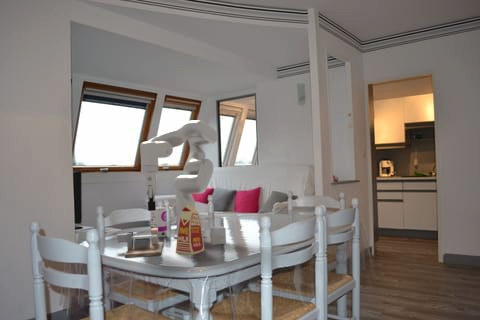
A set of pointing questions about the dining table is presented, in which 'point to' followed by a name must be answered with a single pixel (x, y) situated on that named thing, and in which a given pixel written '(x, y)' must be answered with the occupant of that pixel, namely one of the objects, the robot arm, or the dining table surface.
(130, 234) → the hinge post
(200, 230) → the milk carton
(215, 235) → the skincare box
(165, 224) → the white product box
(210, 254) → the dining table surface
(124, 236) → the clamp bar
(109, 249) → the dining table surface
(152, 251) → the walnut board
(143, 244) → the finned block
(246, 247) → the dining table surface
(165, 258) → the dining table surface
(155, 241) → the lug slider
